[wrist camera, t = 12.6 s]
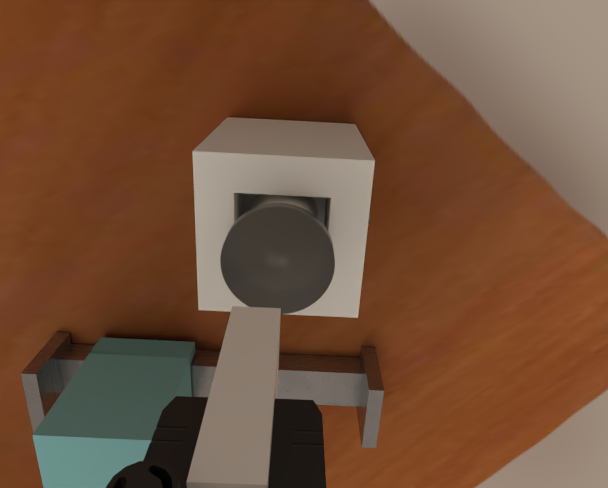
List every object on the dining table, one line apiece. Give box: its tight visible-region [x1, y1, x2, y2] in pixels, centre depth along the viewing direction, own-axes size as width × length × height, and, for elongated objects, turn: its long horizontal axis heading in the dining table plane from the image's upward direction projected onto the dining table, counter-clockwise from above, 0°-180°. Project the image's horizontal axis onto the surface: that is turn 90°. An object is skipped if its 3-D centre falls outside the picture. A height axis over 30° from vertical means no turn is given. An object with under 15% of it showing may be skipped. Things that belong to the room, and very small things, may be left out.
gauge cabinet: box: [193, 117, 375, 318], centre depth 28 cm, size 9×8×10 cm
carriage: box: [32, 337, 195, 488], centre depth 33 cm, size 7×5×10 cm
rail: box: [21, 332, 384, 448], centre depth 36 cm, size 24×5×5 cm, turn 87°
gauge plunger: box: [220, 194, 335, 314], centre depth 23 cm, size 5×5×6 cm
